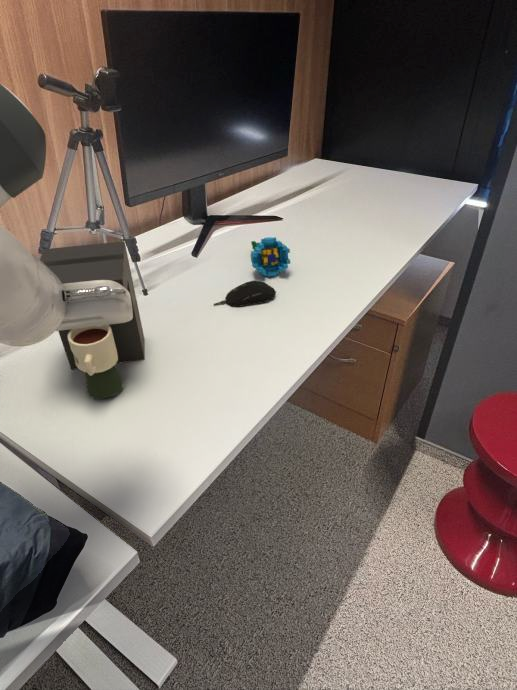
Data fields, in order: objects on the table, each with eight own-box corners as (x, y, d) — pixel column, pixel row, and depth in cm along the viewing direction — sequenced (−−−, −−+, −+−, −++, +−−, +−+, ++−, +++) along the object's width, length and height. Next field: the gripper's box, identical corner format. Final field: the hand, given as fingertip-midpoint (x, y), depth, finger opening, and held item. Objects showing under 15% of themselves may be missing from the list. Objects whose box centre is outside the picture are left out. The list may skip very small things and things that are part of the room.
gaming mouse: (210, 298, 112) (209, 283, 110) (270, 287, 116) (270, 272, 113) (217, 312, 107) (215, 297, 105) (279, 300, 111) (279, 285, 108)
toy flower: (273, 260, 134) (291, 275, 118) (242, 264, 132) (256, 280, 116) (271, 227, 131) (290, 238, 114) (239, 231, 129) (253, 242, 113)
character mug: (91, 372, 92) (73, 315, 84) (128, 369, 92) (115, 312, 84) (80, 413, 83) (60, 354, 75) (122, 409, 84) (106, 351, 76)
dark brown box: (66, 393, 87) (29, 289, 74) (74, 347, 98) (43, 249, 85) (144, 382, 89) (122, 279, 76) (144, 338, 100) (124, 241, 87)
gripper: (120, 257, 49) (137, 291, 62) (-98, 280, 46) (-30, 310, 60) (127, 318, 48) (143, 339, 62) (-94, 344, 45) (-26, 360, 59)
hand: (56, 325), depth 61 cm, fingers open, 8 cm apart
